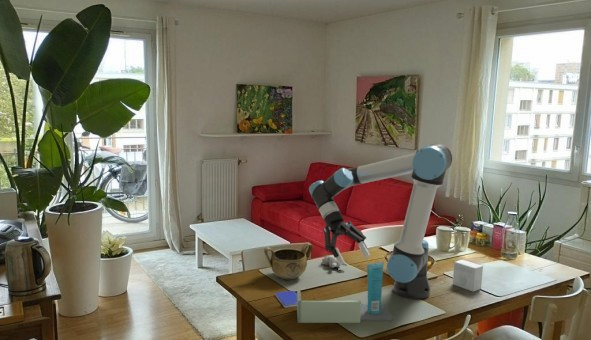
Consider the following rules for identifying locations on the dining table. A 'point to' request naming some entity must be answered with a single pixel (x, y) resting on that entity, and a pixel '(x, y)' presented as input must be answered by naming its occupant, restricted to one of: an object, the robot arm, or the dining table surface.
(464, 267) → the skincare box
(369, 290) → the tube
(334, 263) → the bunny figurine
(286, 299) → the hard drive
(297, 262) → the ceramic bowl
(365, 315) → the mat
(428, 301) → the dining table surface
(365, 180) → the robot arm
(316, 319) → the l-shaped block
